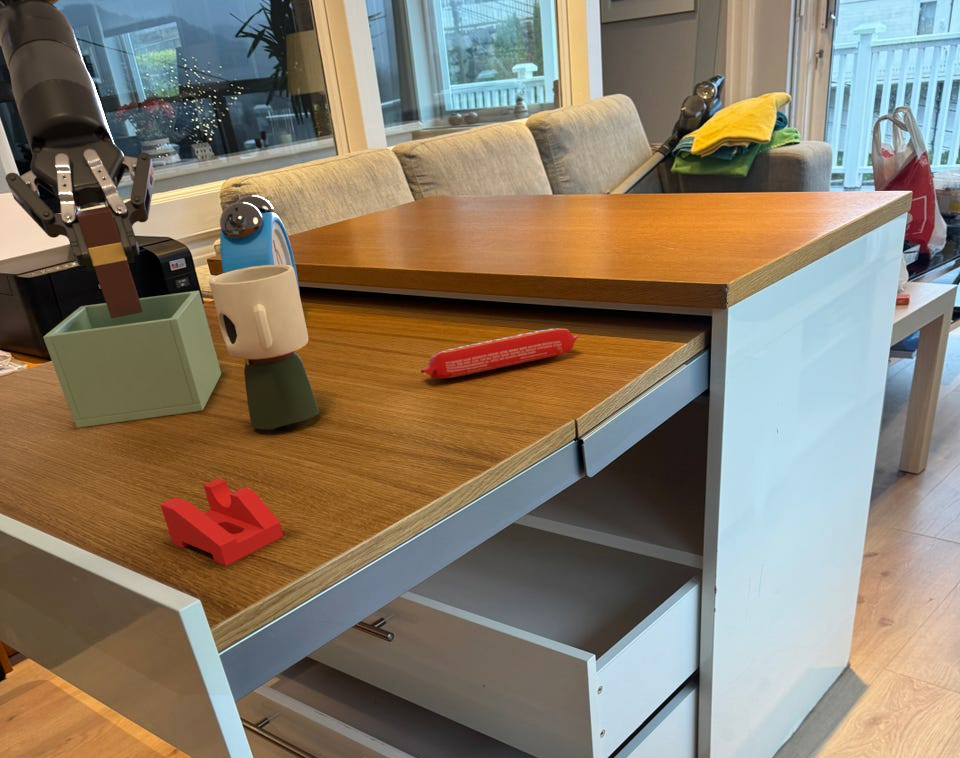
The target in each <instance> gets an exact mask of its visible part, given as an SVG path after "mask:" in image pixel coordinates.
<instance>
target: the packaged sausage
mask: <svg viewBox="0 0 960 758" xmlns="http://www.w3.org/2000/svg"><path fill="white" fill-rule="evenodd" d="M580 336H581V334H577V335H575V336H574V335H573V334H572V332H571V331H570V330H569V329H568V328H565V327H564V328H563V327H562V328H561V327H559V328H554V327H553V328H547V329H540V330H536V331H531V332H525V333H520V334H516V335H511V336H507V337H502V338H496V339H492V340H487V341H481V342H477V343H472V344H467V345H462V346H458V347H454V348H449V349H446V350H442V351H439V352H437V353H434V354H433V355H431V357H430V358H429V360H428V364H427V367H426V368H422V369H421V370H420V374H424V373H425V374H426V375H428V376H430V378H433V379H438V380H439V379H451V378H456V377H461V376H466V375H471V374H476V373H481V372H485V371H491V370H496V369H500V368H505V367H511V366H514V365H519V364H525V363H529V362H533V361H539V360H542V359H543V360H544V359H548V358H552V357H555V356H560V355H563V354H566V353H569V352H570V351H571V350H573V348H574V345H575V342H576V340H577V339H579V337H580Z"/></svg>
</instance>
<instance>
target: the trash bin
mask: <svg viewBox="0 0 960 758" xmlns="http://www.w3.org/2000/svg"><path fill="white" fill-rule="evenodd" d="M139 301H140V304H141V307H142V310H143V312H141V313H136V314H131V315H126V316H121V317H116V318H111V316H110V313H109V310H108V307H107V304H106V302H103V303H97V304H89V305H81V306H79V307H78V308H77V309H76V310H74V311H73V312H72V313H71V314H69V315H68V316H67V317H66V318H64V319H63V320H62V321H61V322H60V323H58V324H57V325H56V326H55V327H53V328H52V329H51V330H50V331H49V332H47V333H46V334H45V335H44V336H43V341H44V344H45V346H46V349H47V351H48V354H49V357H50V360H51V362H52V365H53V368H54V371H55V373H56V377H57V378H58V381H59V384H60V386H61V389H62V390H61V391H62V392H63V395H64V398H65V400H66V403H67V406H68V409H69V411H70V414H71V417H72V419H73V422H74V424H75V428H76V429H82V428H87V427H94V426H102V425H110V424H117V423H124V422H131V421H138V420H147V419H153V418H160V417H167V416H175V415H182V414H190V413H196V412H203V411H204V409H205V407H206V405H207V403H208V401H209V399H210V397H211V396H212V393H213V391H214V390H215V387H216V385H217V383H218V381H219V380H220V377H221V375H222V371H221V368H220V363H219V359H218V357H217V353H216V348H215V345H214V340H213V338H212V333H211V329H210V326H209V323H208V319H207V314H206V311H205V308H204V304H203V300H202V296H201V292H200V290H193V291H185V292H178V293H177V292H176V293H170V294H164V295H156V296H147V297H141V298H140V297H139Z"/></svg>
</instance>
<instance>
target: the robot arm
mask: <svg viewBox="0 0 960 758" xmlns="http://www.w3.org/2000/svg"><path fill="white" fill-rule="evenodd" d="M59 1H60V0H0V48H1V50H2V54H3V56H4V57H3V58H4V60H5V63H6V67H7V69H8V72H9V75H10V81H11V89H12V94H13V98H14V100H15V104H16V107H17V111H18V112H17V113H18V115H19V117H20V120H21V123H22V126H23V129H24V133H25V136H26V139H27V142H28V145H29V149H30V152H31V155H32V158H31V162H30V170H29V171H27V172H25V173H24V174H22V175H19V174H18V173H16V172H9V173H7V174H6V175H5V181H6V183H7V185H8V188H9V190H10V192H11V195H12V197H13V199H14V201H15V202H16V203H17V204H18V205H19V206H20V207H21V208H22V210H24V212H25V213H26V214H27V215H28V216H29V217H30V218H31V219H32V220H33V221H34V222H35V223H36V225H38V227H39V228H40V229H41V230H42V231H43V232H44V233H45V234H46V235H47V236H48V237H49V238H54V239H55V238H58V237H59V236H64V237H66V238H67V239H68V241H69V245H70V248H71V251H72V254H73V256H74V259H75V262H76V263H77V264H78V265H79V267H83V266H85V268H86V270H87V272H88V271H95V268H94V266H93V264H92V263H93V262H92V259H91V256H90V253H89V250H88V247H87V244H86V241H85V238H84V235H83V232H82V229H81V226H80V223H79V220H78V217H77V213H76V212H78V211H81V207H84V206H86V205H89V204H92V203H94V204H101V203H103V205H104V207H107V206H109V207H110V209H111V212H112V215H113V218H114V221H115V224H116V227H117V231H118V234H119V237H120V240H121V243H122V246H123V249H124V252H125V255H126V257H127V262H128V264H132V263H136V260H135V257H137V256H139V254H140V248H139V243H138V241H137V237H136V234H135V231H134V228H133V226H134V224H135V223H137V222H138V223H145V222H147V221H148V220H149V216H150V211H151V203H152V197H153V193H154V185H155V179H156V174H155V169H154V164H153V160H152V156H151V155H150V154H149V153H148V152H145V151H144V152H139V154H138V155H137V157H134V156H129V155H124V153H123V151H122V150H121V149H120V148H119V147H118V146H117V145H116V144H115V142H114V139H113V136H112V133H111V131H110V128H109V125H108V122H107V119H106V116H105V111H104V109H103V106H102V101H101V100H100V97H99V95H98V92H97V89H96V85H95V83H94V81H93V78H92V77H91V74H90V72H89V71H88V69H87V67H86V64H85V61H84V57H83V55H82V52H81V50H80V46H79V44H78V40H77V38H76V35H75V32H74V29H73V26H72V24H71V23H70V21H69V20H68V18H67V16H66V15H65V14H64V13H63V12H62V11H61V10H60V9H59V8H58V7H57V6H55V4H56V3H58V2H59ZM126 172H128V173H129V176H130V180H131V181H132V182H133V183H132V188H131V194H130V200H128V201H125V202H124V200H123V198H122V197H121V195H120V193H119V191H118V187H119V185H120V183H121V181H122V179H123V177H124V175H125V173H126ZM38 186H41V187H42V188H44V189H45V190H46V191H48V192H49V193H51V194H52V195H53V196H55V197H56V198H58V200H59V203H60V205H59V206H60V213H56V212H55V213H54V211H52V210H51V208H50V207H49V206H48V205H47V204H46V203H45V202H44V201H43V200H42V199H41V198H40V192H39V190H38V189H39V188H38Z"/></svg>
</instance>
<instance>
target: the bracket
mask: <svg viewBox="0 0 960 758" xmlns="http://www.w3.org/2000/svg"><path fill="white" fill-rule="evenodd" d="M203 489H204V492H205V496H206V499H207V502H208V504H209V508H210V510H208V511H206V512H203V511H202V510H200V509H199V508H197V506H195V505H194V504H193V503H191V502H190V501H188V500H184V499H182V498H179V497H176V496H175V497H173V498H171V499H169V500H167V501H164V502H162V503H160V504H159V505H160V508H161V511H162V514H163V517H164V520H165V523H166V526H167V530H168V532H169V535H170V539H171V542H172V544H173V545H176V546H178V547H180V548H183V549H184V548H187V547H189V546H193V547H195V548H197V549H199V550H202V551H204V552H207V553H209V554H211V555H212V558H213V561H214V562H216V563H218V564H220V565H223V566H225V567H227V566H229V565H231V564H233V563H234V562H237V561H238V560H241V559H242V558H245V557H246V556H248V555H250V554H252V553H254V552H256V551H258V550H260V549H262V548H265V547H266V546H268V545H269V544H272V543H274V542H276V541H277V540H279V539H281V538H284V534H283V530H282V525H281V522H280V520H279V519H278V518H277V517H276V516H275V514H273V512H272V511H271V510H270V509H269V507H268V506H267V505H266V504H265V503H264V501H263V500H262V499H261V498H260V496H259V495H258V494H257V493H256V491H255V490H254V489H252V488H249V487H243V488H240V489H238V490H236V491H234V492H231V490H230V488H229V485H228V484H227V480H224V479H221V478H217V479H214V480H212V481H209V482H208V483H205V484H203Z"/></svg>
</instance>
